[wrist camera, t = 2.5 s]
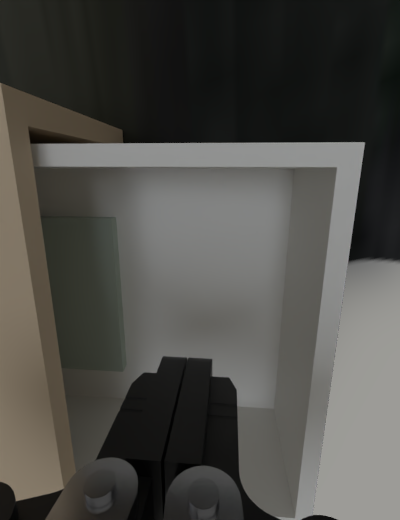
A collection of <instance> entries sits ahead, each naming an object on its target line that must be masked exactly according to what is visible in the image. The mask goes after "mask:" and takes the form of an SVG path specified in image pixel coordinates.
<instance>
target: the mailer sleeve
mask: <svg viewBox="0 0 400 520" xmlns="http://www.w3.org/2000/svg"><path fill="white" fill-rule="evenodd" d="M92 143H123V131H122V130H121V129H118V128H116V127H113V126H111V125H108V124H105V123H103V122H100V121H98V120H95V119H92V118H90V117H87V116H85V115H82V114H80V113H77V112H74V111H72V110H69V109H67V108H64V107H61V106H59V105H56V104H54V103H51V102H49V101H46V100H43V99H41V98H38V97H36V96H33V95H30V94H28V93H25V92H23V91H20V90H18V89H15V88H12V87H10V86H7V85H5V84H2V83H0V482H3V483H6V484H8V485H9V486H10V487H11V488H12V490H13V491H14V494H15V498H16V501H19V500H23V499H28V498H32V497H37V496H41V495H45V494H50V493H53V492H57V491H59V490H62V489H64V488H65V486H66V485H67V483H68V482H69V480H70V479H71V478H72V476H73V475H74V474H75V473H76V470H75V462H74V455H73V448H72V441H71V434H70V426H69V419H68V412H67V405H66V398H65V390H64V383H63V376H62V369H61V361H60V354H59V347H58V340H57V333H56V325H55V318H54V311H53V304H52V297H51V289H50V282H49V275H48V268H47V261H46V253H45V246H44V239H43V232H42V225H41V217H40V210H39V203H38V196H37V189H36V181H35V174H34V167H33V160H32V153H31V145H30V144H92Z"/></svg>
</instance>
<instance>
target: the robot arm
mask: <svg viewBox="0 0 400 520" xmlns="http://www.w3.org/2000/svg"><path fill="white" fill-rule="evenodd" d="M0 520H281V519H278V518H276V517H274V516H272V515H270V514H268V513H266V512H265V511H263V510H262V509H260V508H259V507H258V506H257V505H256V504H255V503H254V502H253V501H252V500H251V499H250V498H249V496H248V495H247V493H246V492H245V490H244V488H243V486H242V483H241V480H240V475H239V450H238V415H237V390H236V388H235V386H234V385H233V383H232V381H231V380H230V378H229V377H213V376H212V359H206V358H188V360H187V357H170V356H163V357H162V359H161V362H160V365H159V367H158V370H157V373H147V372H144V373H143V374H142V375H141V376H139V377H138V378H137V379H136V380H135V381H134V382H133V383H132V384H131V386H130V388H129V390H128V392H127V395H126V397H125V399H124V401H123V403H122V405H121V407H120V411H119V412H118V414H117V416H116V418H115V420H114V422H113V424H112V426H111V428H110V431H109V433H108V435H107V437H106V439H105V441H104V443H103V445H102V448H101V450H100V452H99V454H98V456H97V458H96V460H95V461H93V462H91V463H89V464H87V465H85V466H84V467H82V468H81V469H80V470H79V471H77V472H76V473H75V474H74V475H73V476H72V478H71V479H70V480H69V482H68V483H67V485H66V486H65V488H64V489H62V490H59V491H57V492H53V493H50V494H45V495H41V496H37V497H32V498H28V499H23V500H19V501H16V498H15V494H14V491H13V490H12V488H11V487H10V486H9V485H8V484H6V483H3V482H0ZM301 520H337V519H334V518H331V517H328V516H323V515H313V516H308V517H305V518H303V519H301Z"/></svg>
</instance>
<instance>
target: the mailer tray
mask: <svg viewBox="0 0 400 520" xmlns="http://www.w3.org/2000/svg"><path fill="white" fill-rule="evenodd" d="M30 145H31V153H32V160H33V167H34V174H35V181H36V189H37V196H38V203H39V210H40V217H41V225H42V232H43V239H44V246H45V253H46V261H47V268H48V275H49V282H50V289H51V297H52V304H53V311H54V318H55V325H56V333H57V340H58V347H59V354H60V361H61V369H62V376H63V383H64V390H65V398H66V405H67V412H68V419H69V426H70V434H71V441H72V448H73V455H74V462H75V470H76V472H77V471H79V470H80V469H81V468H82V467H84V466H85V465H87V464H89V463H91V462H93V461H95V460H96V458H97V456H98V454H99V452H100V450H101V448H102V445H103V443H104V441H105V439H106V437H107V435H108V433H109V431H110V428H111V426H112V424H113V422H114V420H115V418H116V416H117V414H118V412H119V411H120V407H121V405H122V403H123V401H124V399H125V397H126V395H127V392H128V390H129V388H130V386H131V384H132V383H133V382H134V381H135V380H136V379H137V378H138V377H139V376H141V375H142V374H143V373H144V372H147V373H157V370H158V367H159V365H160V362H161V359H162V357H163V356H170V357H187V360H188V358H206V359H212V376H213V377H229V378H230V380H231V381H232V383H233V385H234V386H235V388H236V390H237V415H238V450H239V475H240V480H241V483H242V486H243V488H244V490H245V492H246V493H247V495H248V496H249V498H250V499H251V500H252V501H253V502H254V503H255V504H256V505H257V506H258V507H259V508H260V509H262V510H263V511H265V512H266V513H268V514H270V515H272V516H274V517H276V518H278V519H281V520H301V519H303V518H305V517H308V516H312V514H313V507H314V500H315V493H316V486H317V479H318V472H319V465H320V457H321V450H322V443H323V436H324V429H325V422H326V415H327V407H328V401H329V394H330V387H331V379H332V372H333V365H334V357H335V351H336V344H337V336H338V330H339V323H340V315H341V308H342V301H343V293H344V287H345V280H346V273H347V266H348V259H349V252H350V245H351V238H352V230H353V223H354V216H355V209H356V202H357V195H358V188H359V181H360V174H361V167H362V159H363V152H364V145H365V142H325V143H92V144H30Z"/></svg>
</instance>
